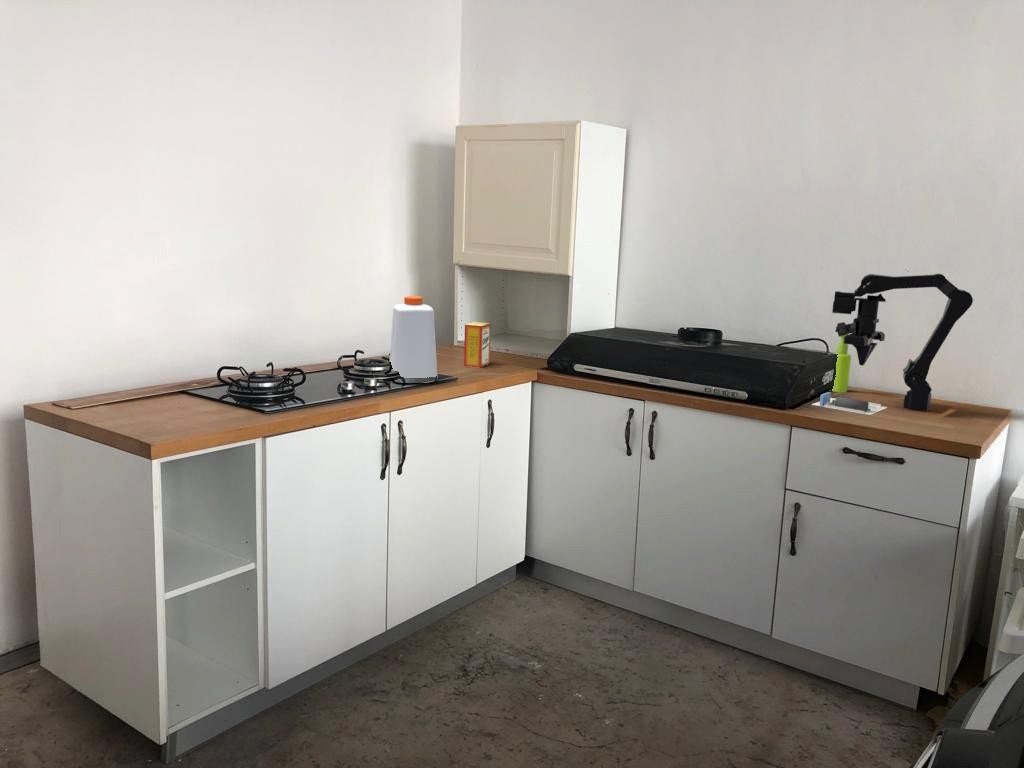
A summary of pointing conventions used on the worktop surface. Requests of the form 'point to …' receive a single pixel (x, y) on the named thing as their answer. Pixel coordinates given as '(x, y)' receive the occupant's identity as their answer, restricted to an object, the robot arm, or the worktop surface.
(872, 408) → the board
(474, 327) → the baking soda box
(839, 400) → the dark grey bar
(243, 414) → the worktop surface
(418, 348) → the plastic bottle
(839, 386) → the soap dispenser
